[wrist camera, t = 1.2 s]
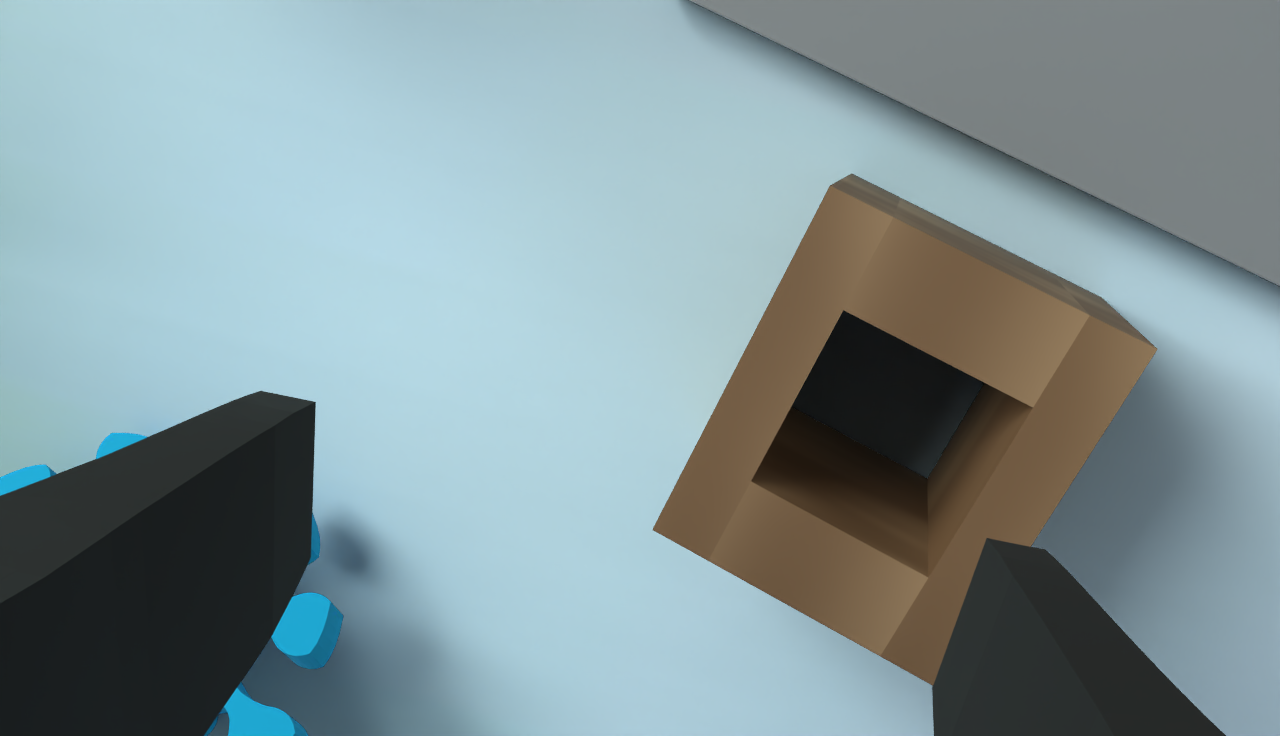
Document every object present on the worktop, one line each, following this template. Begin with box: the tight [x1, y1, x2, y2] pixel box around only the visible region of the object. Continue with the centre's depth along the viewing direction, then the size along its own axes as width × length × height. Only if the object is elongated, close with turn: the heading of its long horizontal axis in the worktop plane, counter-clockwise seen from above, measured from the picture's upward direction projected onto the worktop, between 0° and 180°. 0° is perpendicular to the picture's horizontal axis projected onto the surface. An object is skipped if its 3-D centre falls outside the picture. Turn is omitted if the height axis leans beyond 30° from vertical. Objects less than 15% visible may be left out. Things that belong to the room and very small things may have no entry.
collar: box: [653, 174, 1157, 685], centre depth 19 cm, size 5×6×5 cm
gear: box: [0, 433, 343, 736], centre depth 24 cm, size 11×6×10 cm
